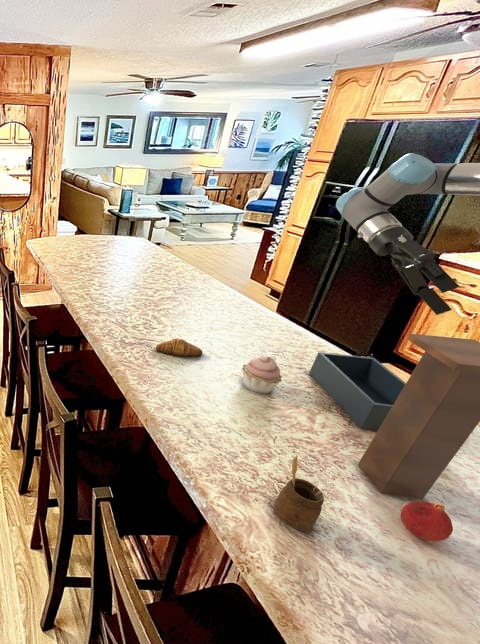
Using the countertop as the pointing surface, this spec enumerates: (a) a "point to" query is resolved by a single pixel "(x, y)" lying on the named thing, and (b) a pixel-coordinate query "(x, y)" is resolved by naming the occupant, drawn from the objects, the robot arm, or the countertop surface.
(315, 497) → the utensil holder
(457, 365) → the stand
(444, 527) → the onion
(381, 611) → the countertop surface
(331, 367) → the bin
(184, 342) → the croissant
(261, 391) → the cupcake
